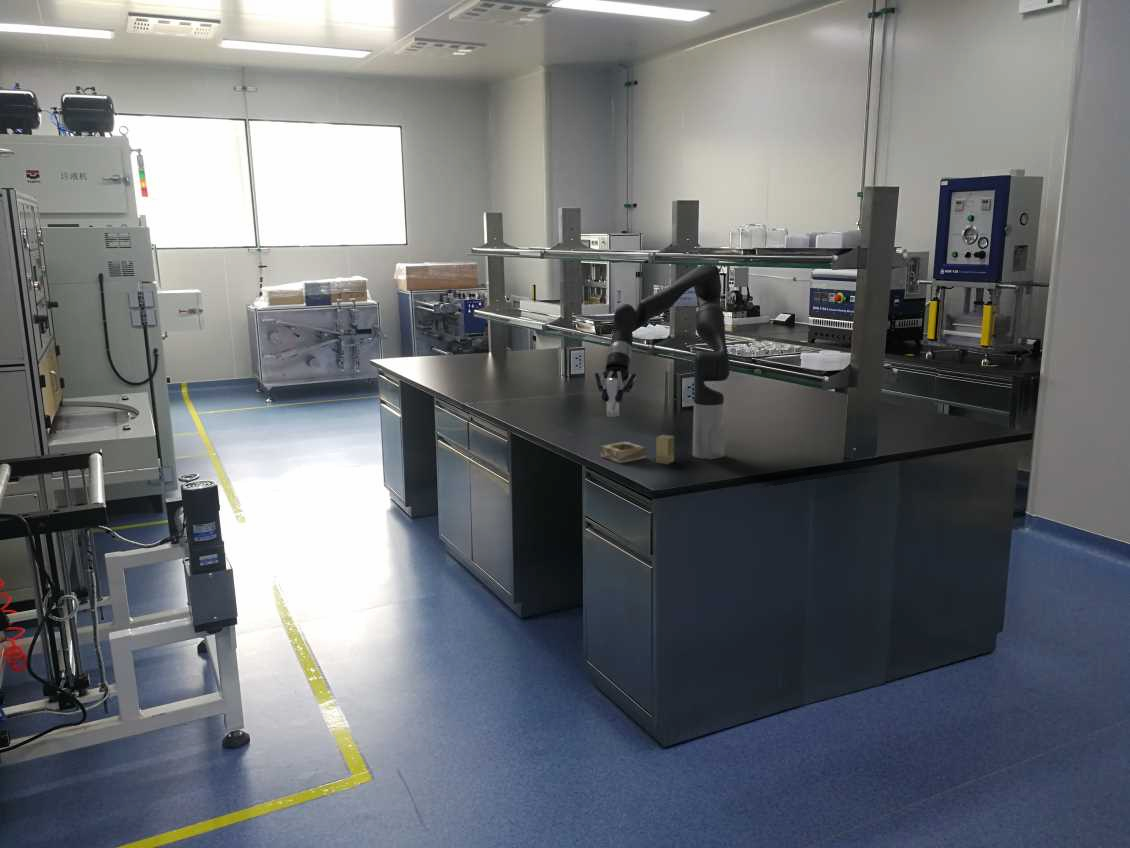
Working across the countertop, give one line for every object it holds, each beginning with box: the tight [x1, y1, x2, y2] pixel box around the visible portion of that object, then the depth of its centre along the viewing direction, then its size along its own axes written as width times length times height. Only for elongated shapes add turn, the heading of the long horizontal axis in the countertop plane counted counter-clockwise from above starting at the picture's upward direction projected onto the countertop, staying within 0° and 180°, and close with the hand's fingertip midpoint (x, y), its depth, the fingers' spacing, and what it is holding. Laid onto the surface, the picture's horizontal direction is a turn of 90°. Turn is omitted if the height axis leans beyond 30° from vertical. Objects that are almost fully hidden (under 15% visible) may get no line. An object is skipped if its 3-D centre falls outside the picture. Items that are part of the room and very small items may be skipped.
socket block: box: [600, 440, 646, 464], centre depth 268 cm, size 10×10×4 cm
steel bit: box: [605, 378, 620, 418], centre depth 273 cm, size 4×4×12 cm
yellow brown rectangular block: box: [655, 434, 675, 465], centre depth 262 cm, size 4×4×8 cm
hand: (611, 401), depth 271 cm, fingers closed on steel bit, 4 cm apart
